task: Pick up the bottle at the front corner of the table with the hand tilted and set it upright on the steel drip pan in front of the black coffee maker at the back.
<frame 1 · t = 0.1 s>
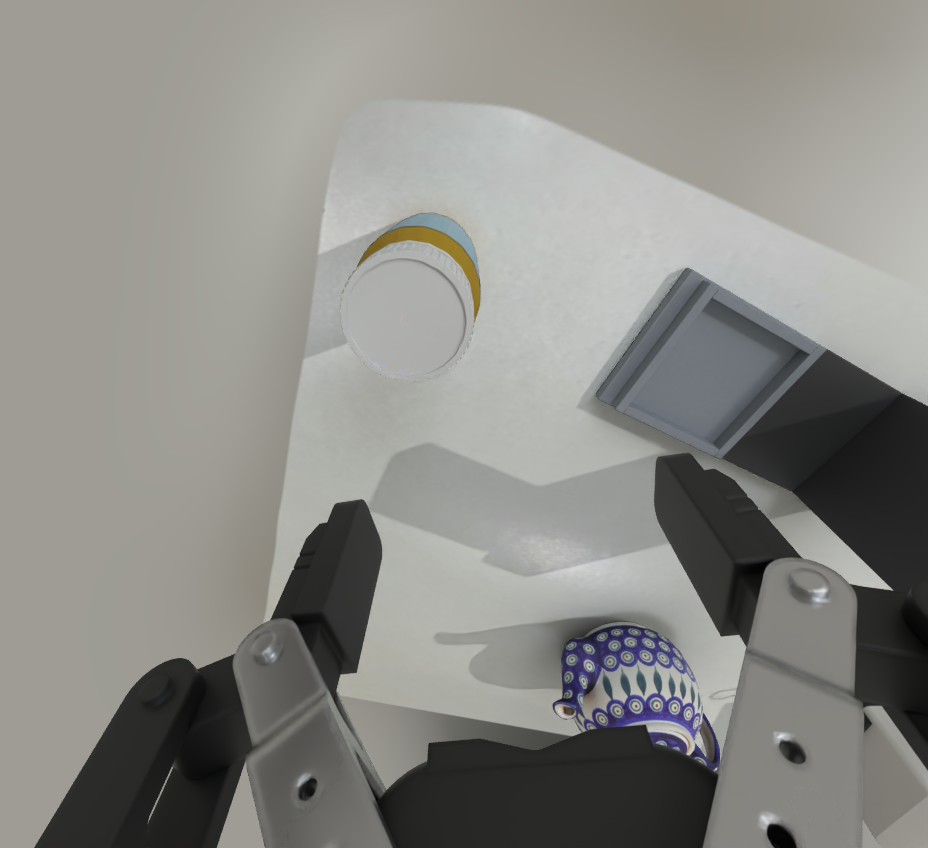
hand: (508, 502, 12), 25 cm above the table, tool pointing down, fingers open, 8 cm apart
teapot: (614, 643, 57), on the table
coffee maker: (858, 452, 41), on the table
bottle: (431, 262, 33), on the table
toaster: (913, 690, 62), on the table
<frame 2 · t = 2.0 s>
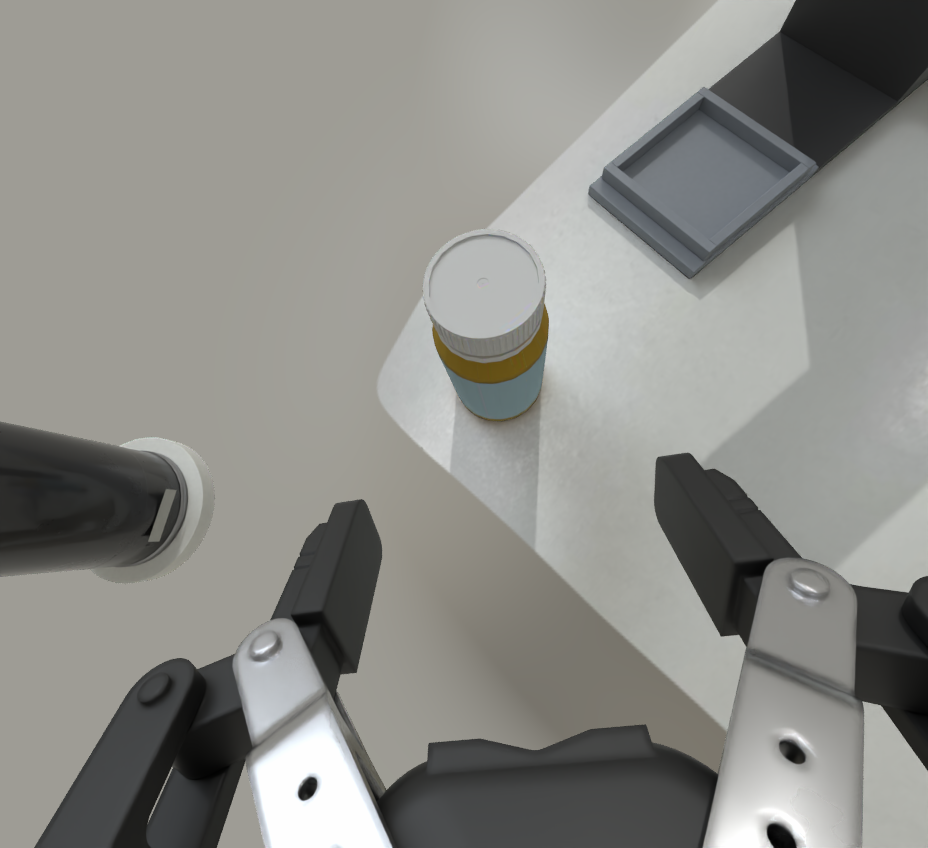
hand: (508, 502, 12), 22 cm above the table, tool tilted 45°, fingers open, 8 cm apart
coffee maker: (852, 56, 38), on the table
bottle: (498, 383, 36), on the table
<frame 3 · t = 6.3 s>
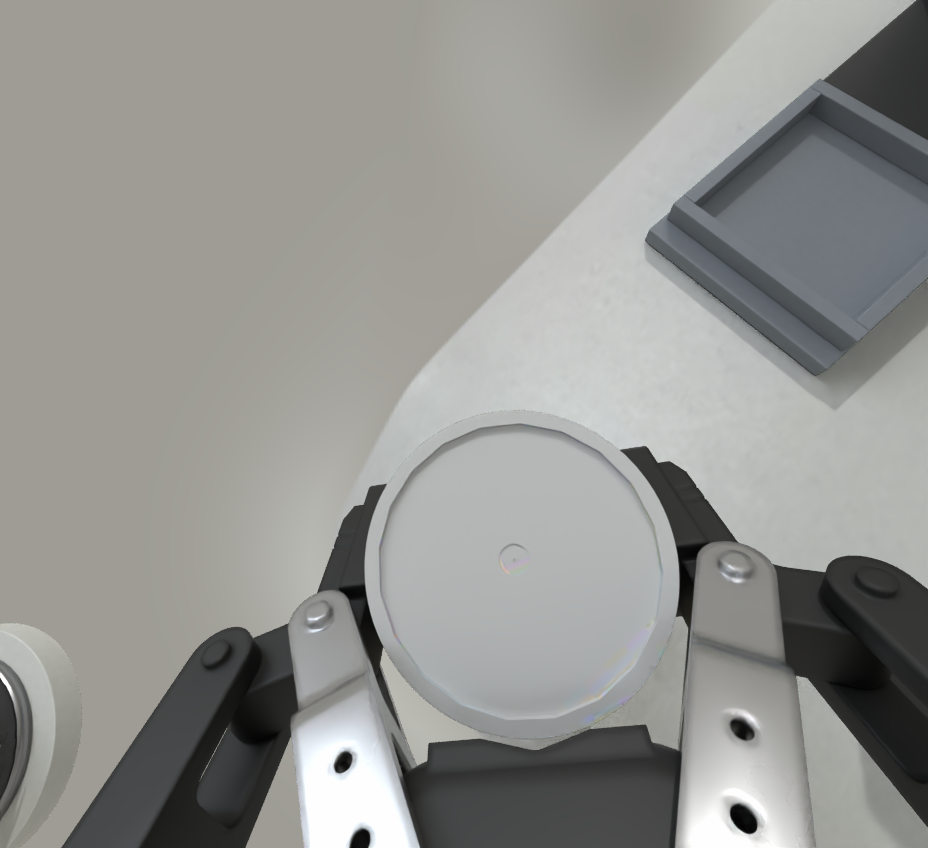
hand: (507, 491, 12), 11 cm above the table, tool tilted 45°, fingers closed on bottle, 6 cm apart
bottle: (520, 542, 23), on the table, touching gripper
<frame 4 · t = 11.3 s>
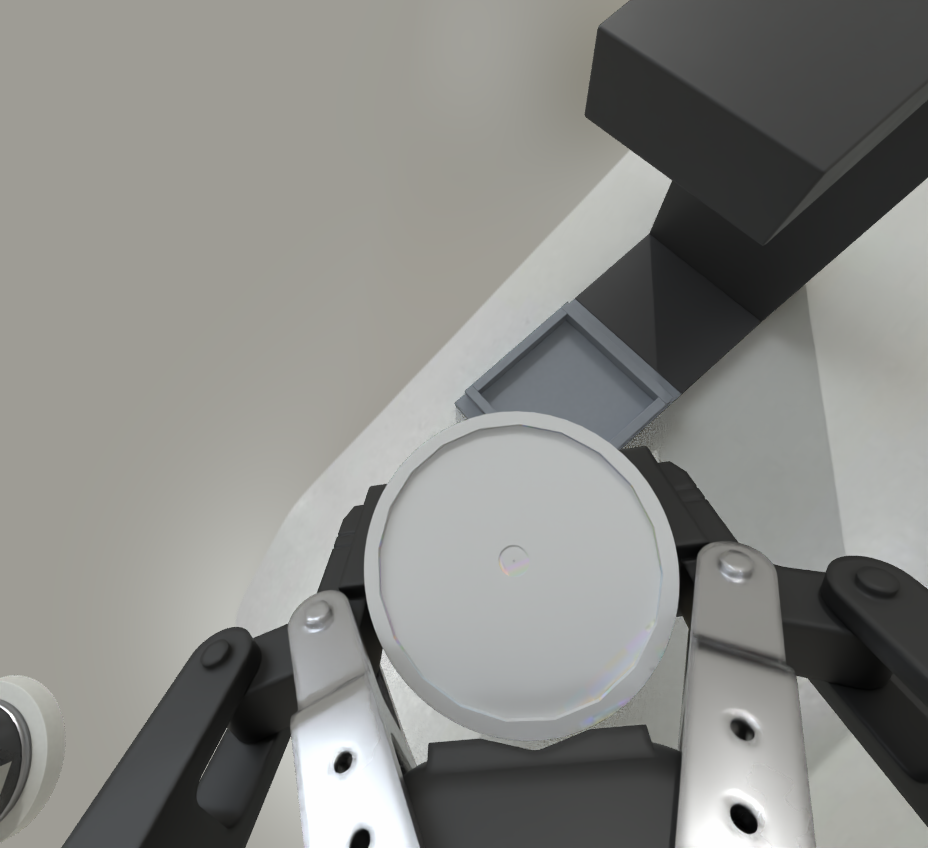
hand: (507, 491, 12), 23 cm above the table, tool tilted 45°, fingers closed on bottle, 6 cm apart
coffee maker: (722, 260, 38), on the table
bottle: (520, 543, 23), point 12 cm above the table, touching gripper
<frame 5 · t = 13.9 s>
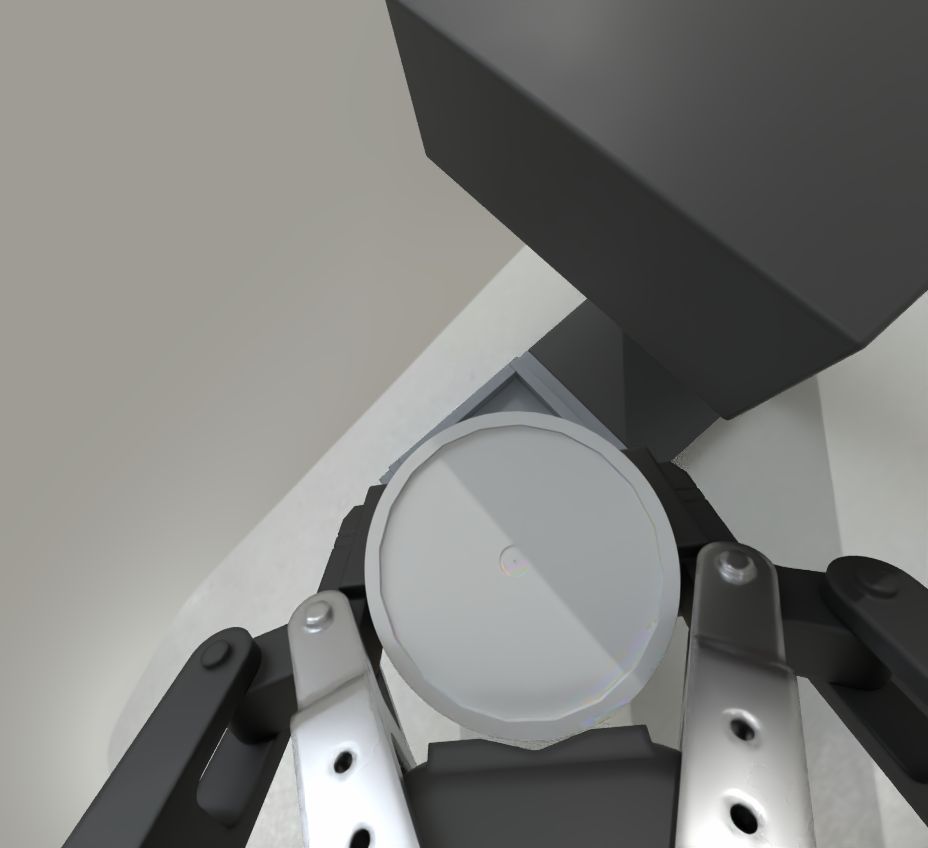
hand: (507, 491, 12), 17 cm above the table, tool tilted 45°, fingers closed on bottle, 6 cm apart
coffee maker: (709, 303, 31), on the table
bottle: (520, 543, 23), point 6 cm above the table, touching gripper
when the fingers open (12 cm above the table, at t = 16.3 s): bottle stays where it is, resting on coffee maker.
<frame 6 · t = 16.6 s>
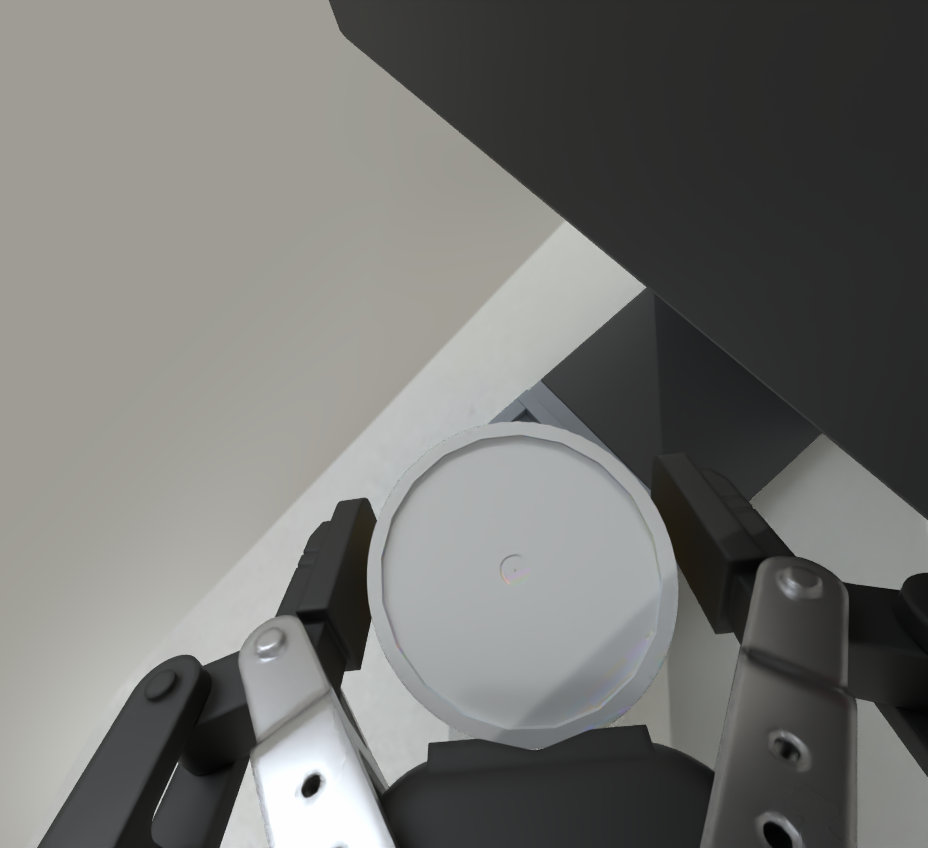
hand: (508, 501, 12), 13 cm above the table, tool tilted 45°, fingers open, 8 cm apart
coffee maker: (764, 322, 25), on the table
bottle: (521, 546, 23), point 1 cm above the table, touching coffee maker
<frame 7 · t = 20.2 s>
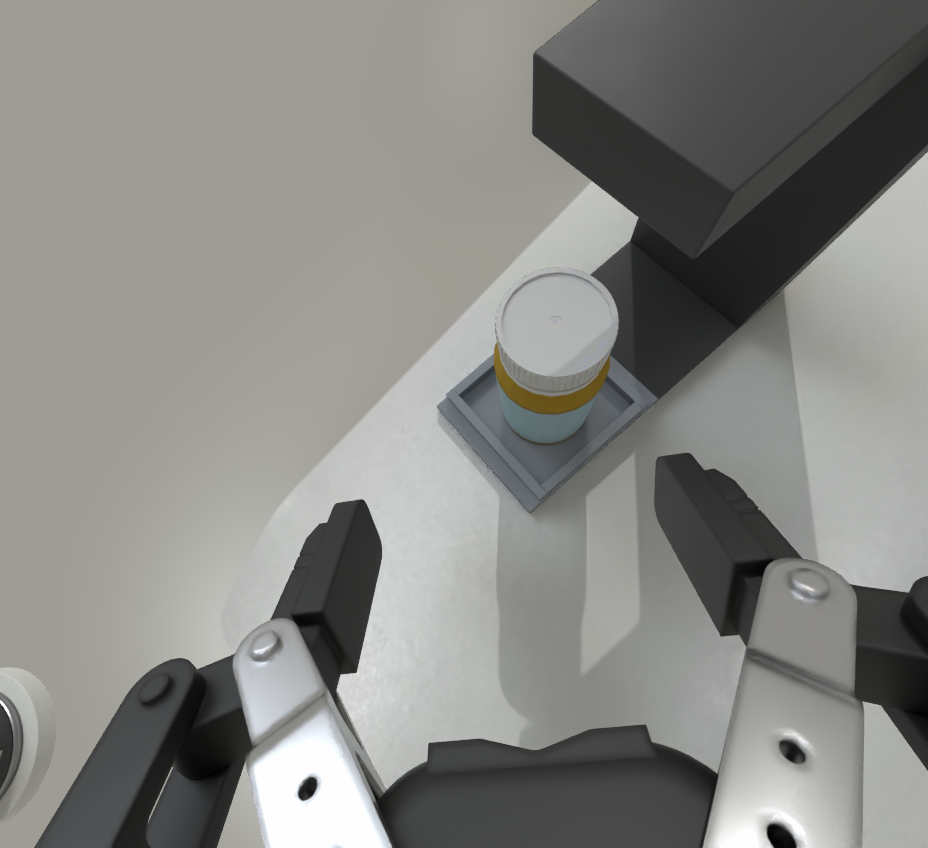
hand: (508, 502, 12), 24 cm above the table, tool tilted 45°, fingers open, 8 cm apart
coffee maker: (702, 267, 38), on the table
bottle: (544, 405, 36), point 1 cm above the table, touching coffee maker
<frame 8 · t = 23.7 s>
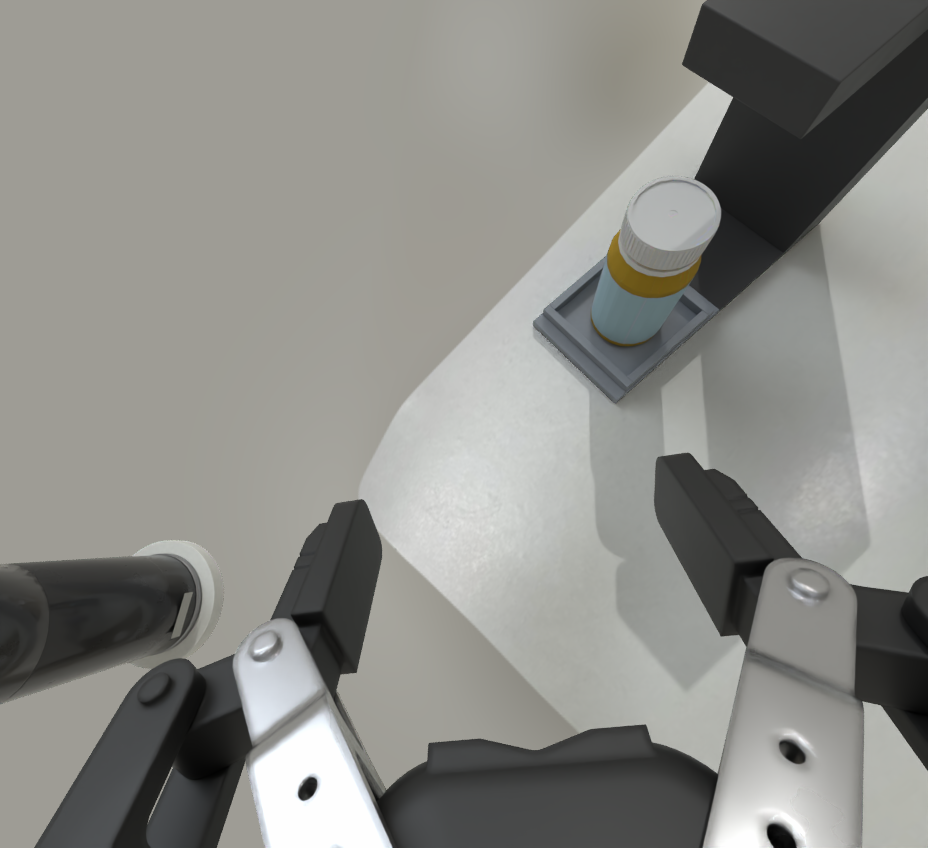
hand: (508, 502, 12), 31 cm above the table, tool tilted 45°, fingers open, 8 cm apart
coffee maker: (751, 207, 46), on the table
bottle: (624, 318, 44), point 1 cm above the table, touching coffee maker
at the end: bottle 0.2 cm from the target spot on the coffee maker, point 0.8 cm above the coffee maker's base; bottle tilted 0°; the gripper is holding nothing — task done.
